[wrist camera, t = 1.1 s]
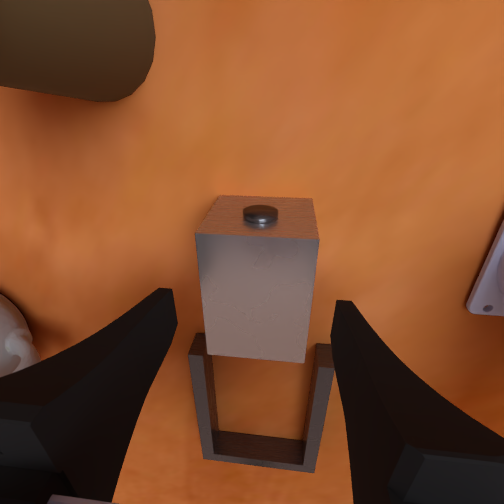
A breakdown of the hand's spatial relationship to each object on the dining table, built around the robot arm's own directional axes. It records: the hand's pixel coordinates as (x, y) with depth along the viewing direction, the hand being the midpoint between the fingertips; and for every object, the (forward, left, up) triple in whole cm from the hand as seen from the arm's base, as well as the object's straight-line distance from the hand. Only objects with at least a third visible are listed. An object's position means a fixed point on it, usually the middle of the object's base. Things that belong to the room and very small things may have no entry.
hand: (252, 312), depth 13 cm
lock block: (0, 0, -6) cm, 6 cm away
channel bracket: (0, +13, -5) cm, 14 cm away
